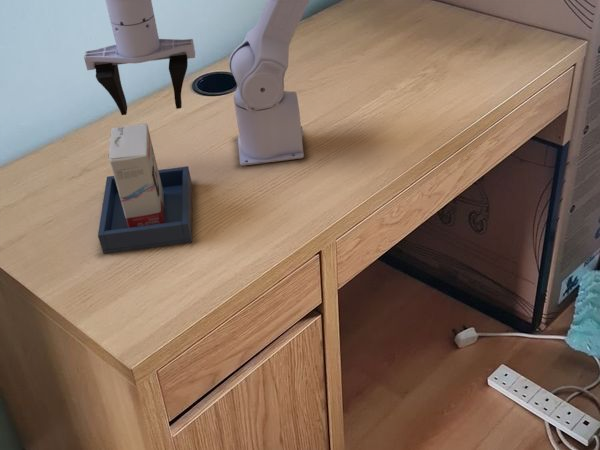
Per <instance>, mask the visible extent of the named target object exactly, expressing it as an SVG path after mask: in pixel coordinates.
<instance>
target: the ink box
mask: <svg viewBox="0 0 600 450" xmlns="http://www.w3.org/2000/svg"><path fill="white" fill-rule="evenodd" d="M109 140H110V141H109V148H108V149H109V151H108V159H109V163H110V167H111V170H112V173H113V176H114V178H115V181H116V185H117V189H118V193H119V196H120V200H121V203H122V207H123V210H124V214H125V218H126V222H127V225H128V228H132V227H140V226H148V225H155V224H163V223H165V219H164V192H163V188H162V184H161V179H160V175H159V171H158V170H159V168H158V162H157V160H156V154H155V150H154V147H153V142H152V139H151V134H150V129H149V125H148V123H140V124H133V125H124V126H116V127H112V128H111V129H110V139H109Z"/></svg>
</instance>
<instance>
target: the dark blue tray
mask: <svg viewBox="0 0 600 450" xmlns="http://www.w3.org/2000/svg"><path fill="white" fill-rule="evenodd" d="M158 171H159V175H160V179H161V184H162V188H163V192H164V219H165V223H163V224H155V225H148V226H140V227H132V228H128V225H127V222H126V218H125V214H124V210H123V207H122V203H121V200H120V196H119V193H118V189H117V185H116V181H115V178H114V175H110V176H106V181H105V186H104V193H103V198H102V199H103V200H102V205H101V211H100V217H99V218H100V219H99V225H98V231H97V239H98V240H99V245H100V248H101V250H102V254H104V255H105V254H111V253H119V252H127V251H135V250H142V249H149V248H151V249H152V248H159V247H166V246H174V245H182V244H187V243H192V242H193V182H192V177H191V172H190V167H189V166H181V167H180V166H179V167H172V168H165V169H158Z"/></svg>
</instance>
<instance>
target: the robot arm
mask: <svg viewBox="0 0 600 450" xmlns="http://www.w3.org/2000/svg"><path fill="white" fill-rule="evenodd" d="M309 2H310V0H266V2H265V4H264V6H263V8H262V11H261V13H260V16H259V18H258V21H257V23H256V24H255V26H254V27H253V28H251V29H250V30H248V31H247V32H246V35H245V37H244V40H243V41H242V42H241V43H240V44H239V45H238V46H237V47H236V48H234V49H233V51H232V52H231V54H230V56H229V60H228V67H229V70H230V73H231V75H232V76H233V78H234V80H235V81H234V82H235V83H236V86H237V87H236V89H235V91H234V94H233V101H234V102H233V103H234V109H235V110H234V111H235V116H236V122H237V129H238V137H237V144H238V146H237V147H238V157H239V164H240V166H242V167H243V166H250V165H251V166H252V165H261V164H267V163H274V162H275V163H276V162H283V161H284V162H285V161H290V160H298V159H304V158H305V154H304V147H303V146H304V143H303V138H304V130H303V126H302V124H301V123H302V122H301V114H300V113H301V112H300V105H299V100H298V94H297V92H296V91H287V90H285V75H286V73H287V70H288V68H289V59H290V58H289V53H290V45H291V42H292V40H293V38H294V35H295V33H296V31H297V29H298V27H299V25H300V22H301V21H302V18H303V16H304V13H305V11H306V9H307V7H308V5H309ZM105 4H106V8H107V13H108V17H109V21H110V26H111V28H112V33H113V38H114V43H115V44H111V45H108V46H105V47H101V48H96V49H91V50H86V51H85V52H84V55H83V60H84V63H85V67H86V70H87V71H92V70H93V71H94V70H95V79H96V80H97V82H98V83H99V84H100V85H101V86H102V87H103V88H104V89H105V90H106V91H107V93H108V94H109V95H110V96H111V98H112V99H113V101H114V102H115V103H114V104H116V106H117V108H118V110H119V112H120V115H121V116H127V114H128V103H127V99H126V95H125V93H124V89H123V85H122V81H121V76H120V75H121V74H120V70H119V66H120V65H126V64H141V63H146V62H152V61H161V60H169V61H168V72H169V74H170V80H171V85H172V88H173V95H174V104H175V108H176V110H178V109H182V105H183V104H182V89H183V85H184V80H185V77H186V75H187V71H188V63H189V60H188V59H195V58H196V50H195V43H194V39H193V38H188V39H187V38H186V39H179V38H177V39H175V38H160V37H159V32H158V28H157V27H158V26H157V23H156V17H155V12H154V6H153V2H152V0H105Z"/></svg>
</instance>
